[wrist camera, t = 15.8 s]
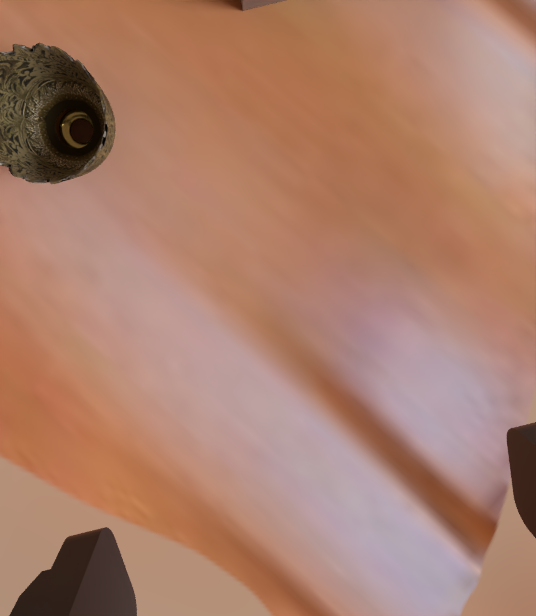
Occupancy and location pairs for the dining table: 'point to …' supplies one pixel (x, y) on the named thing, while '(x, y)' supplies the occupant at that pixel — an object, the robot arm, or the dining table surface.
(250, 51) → the dining table surface
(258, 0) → the square base with ring
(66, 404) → the dining table surface
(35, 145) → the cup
